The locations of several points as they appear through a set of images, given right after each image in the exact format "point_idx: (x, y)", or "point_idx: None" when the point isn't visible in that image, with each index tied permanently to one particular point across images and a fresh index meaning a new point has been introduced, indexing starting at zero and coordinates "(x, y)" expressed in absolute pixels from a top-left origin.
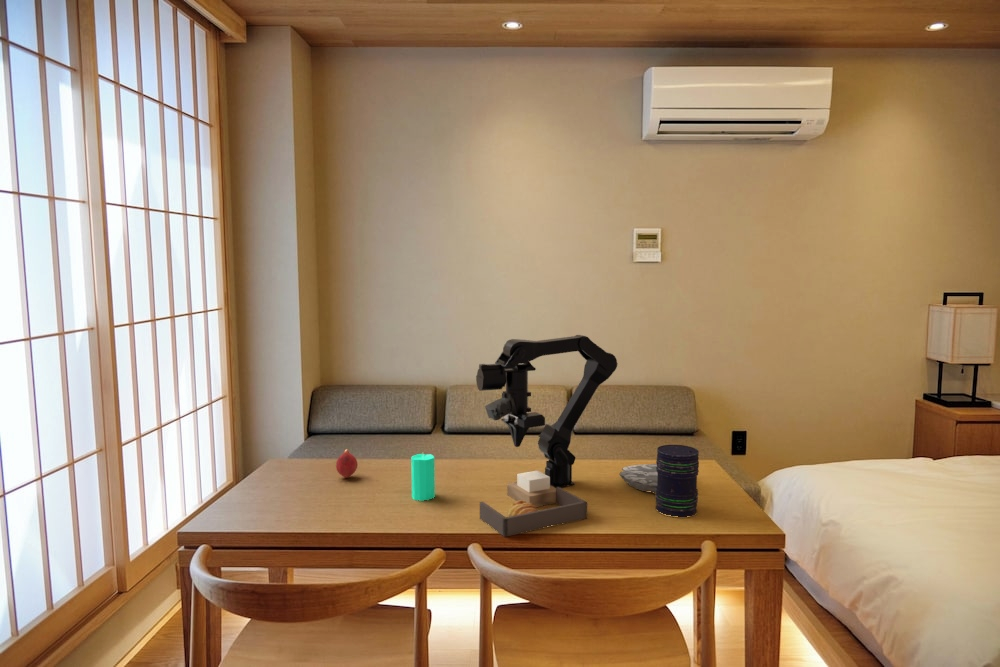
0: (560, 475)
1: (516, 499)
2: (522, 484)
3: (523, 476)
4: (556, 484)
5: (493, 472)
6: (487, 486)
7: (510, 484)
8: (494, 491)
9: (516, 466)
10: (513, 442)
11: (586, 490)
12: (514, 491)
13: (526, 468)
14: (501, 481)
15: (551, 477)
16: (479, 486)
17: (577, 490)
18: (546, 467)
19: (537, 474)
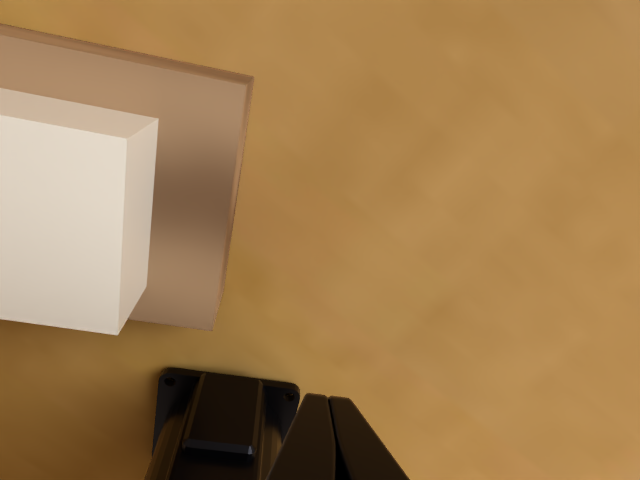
0: (156, 452)
1: (116, 48)
2: (55, 107)
3: (21, 132)
4: (185, 396)
5: (633, 285)
6: (481, 81)
7: (207, 87)
8: (368, 50)
9: (589, 431)
10: (373, 431)
11: (57, 455)
12: (130, 57)
13: (524, 447)
14: (480, 219)
15: (192, 408)
16: (525, 33)
17: (81, 427)
18: (238, 452)
19: (15, 269)
